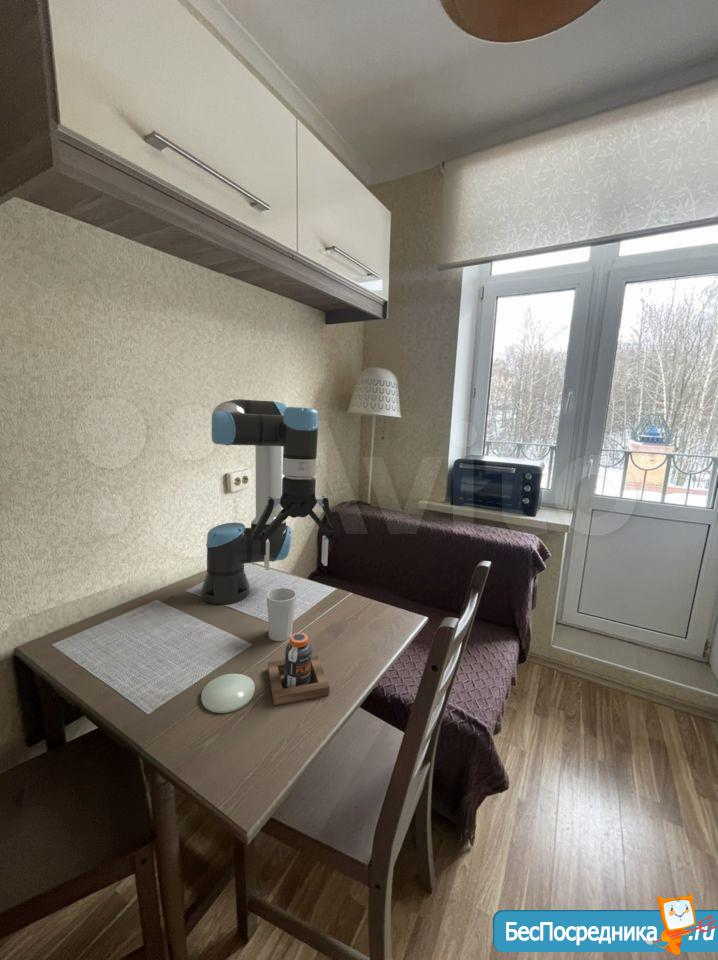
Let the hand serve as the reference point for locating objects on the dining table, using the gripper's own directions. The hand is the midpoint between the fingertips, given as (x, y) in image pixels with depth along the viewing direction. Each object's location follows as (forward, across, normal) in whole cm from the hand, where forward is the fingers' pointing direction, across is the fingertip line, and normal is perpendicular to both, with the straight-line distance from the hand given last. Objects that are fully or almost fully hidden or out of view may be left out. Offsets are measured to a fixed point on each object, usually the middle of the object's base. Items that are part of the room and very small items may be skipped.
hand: (296, 565), depth 90 cm
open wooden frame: (+26, 0, -6) cm, 26 cm away
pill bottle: (+26, 0, -6) cm, 27 cm away
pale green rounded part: (+26, -15, -6) cm, 30 cm away
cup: (+26, -1, +14) cm, 29 cm away
